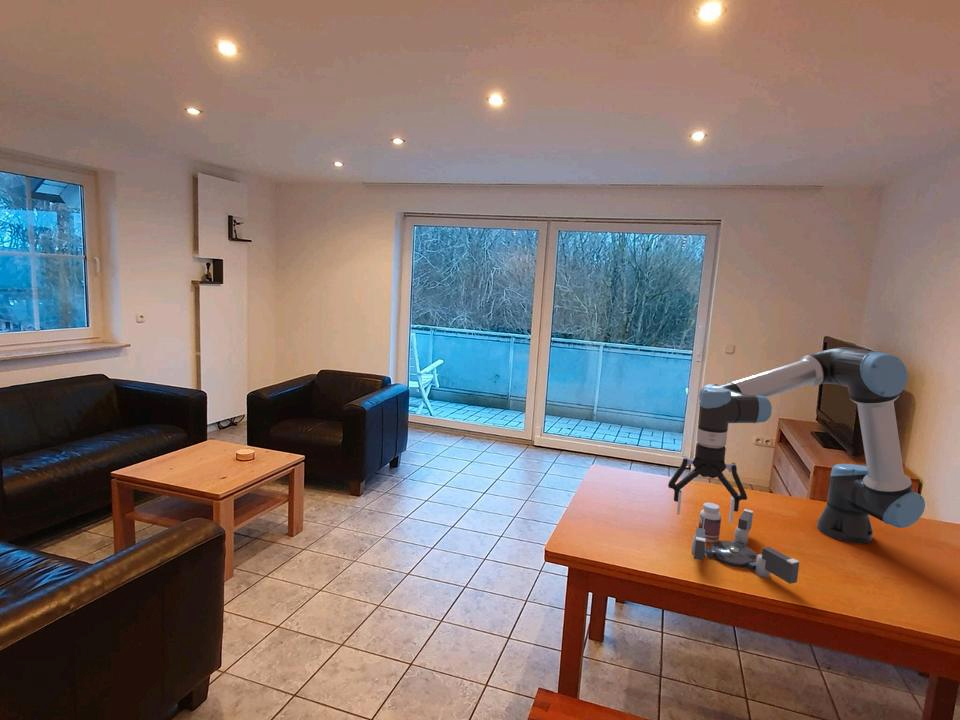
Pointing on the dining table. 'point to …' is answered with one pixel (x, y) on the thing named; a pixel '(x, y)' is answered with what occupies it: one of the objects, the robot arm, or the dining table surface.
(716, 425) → the robot arm
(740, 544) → the base
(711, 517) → the pill bottle
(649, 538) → the dining table surface
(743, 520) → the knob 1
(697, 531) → the dark bar with dome
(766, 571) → the grey bar white cap
